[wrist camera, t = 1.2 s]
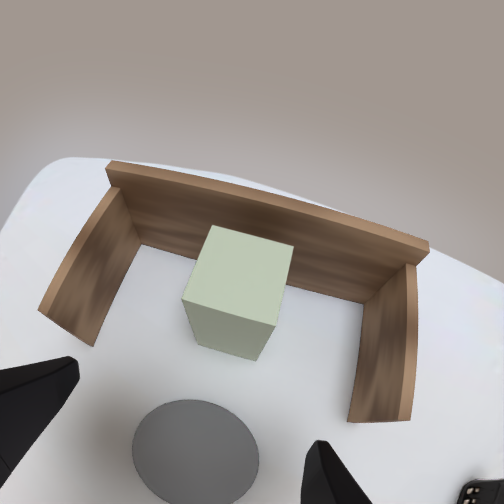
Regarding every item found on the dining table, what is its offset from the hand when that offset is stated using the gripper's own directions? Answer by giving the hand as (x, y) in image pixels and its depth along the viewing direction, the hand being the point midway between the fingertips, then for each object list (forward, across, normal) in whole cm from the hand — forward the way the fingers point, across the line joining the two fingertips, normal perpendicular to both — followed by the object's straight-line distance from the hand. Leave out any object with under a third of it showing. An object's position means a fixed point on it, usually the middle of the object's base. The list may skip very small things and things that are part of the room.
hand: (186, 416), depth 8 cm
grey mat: (+7, 0, +12) cm, 14 cm away
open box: (+15, 0, +4) cm, 16 cm away
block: (+15, 0, +4) cm, 16 cm away
